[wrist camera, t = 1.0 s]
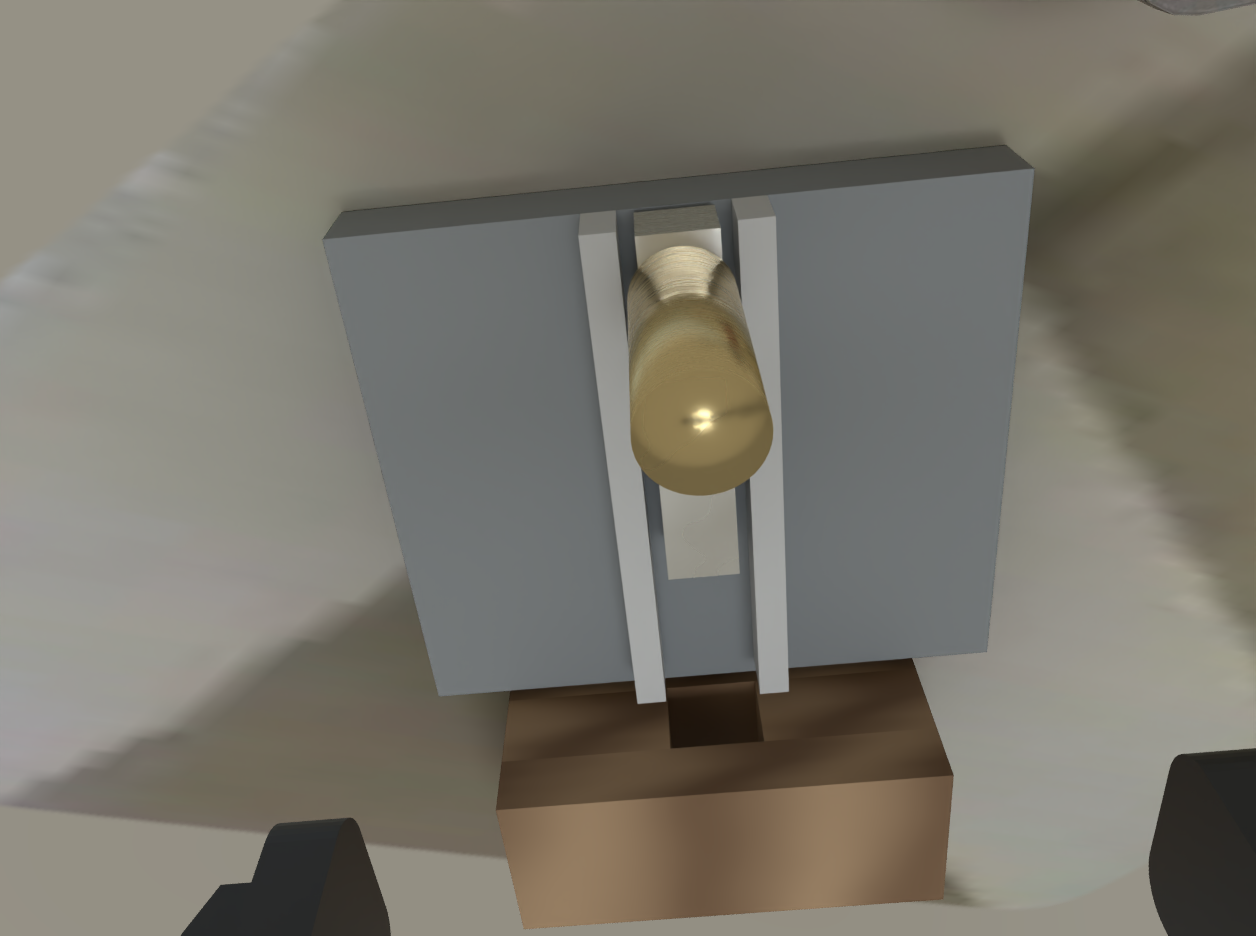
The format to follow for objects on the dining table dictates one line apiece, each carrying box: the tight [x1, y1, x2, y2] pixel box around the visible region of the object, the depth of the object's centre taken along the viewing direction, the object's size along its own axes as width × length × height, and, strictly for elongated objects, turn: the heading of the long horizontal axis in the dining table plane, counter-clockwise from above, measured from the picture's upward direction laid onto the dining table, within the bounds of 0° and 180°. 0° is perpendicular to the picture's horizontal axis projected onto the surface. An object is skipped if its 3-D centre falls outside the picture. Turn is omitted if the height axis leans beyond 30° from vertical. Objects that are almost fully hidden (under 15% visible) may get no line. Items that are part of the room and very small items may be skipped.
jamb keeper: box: [496, 658, 954, 929], centre depth 32 cm, size 12×5×6 cm, turn 96°
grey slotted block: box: [322, 145, 1035, 704], centre depth 28 cm, size 16×14×4 cm
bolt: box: [627, 205, 773, 580], centre depth 23 cm, size 2×9×8 cm, turn 6°
